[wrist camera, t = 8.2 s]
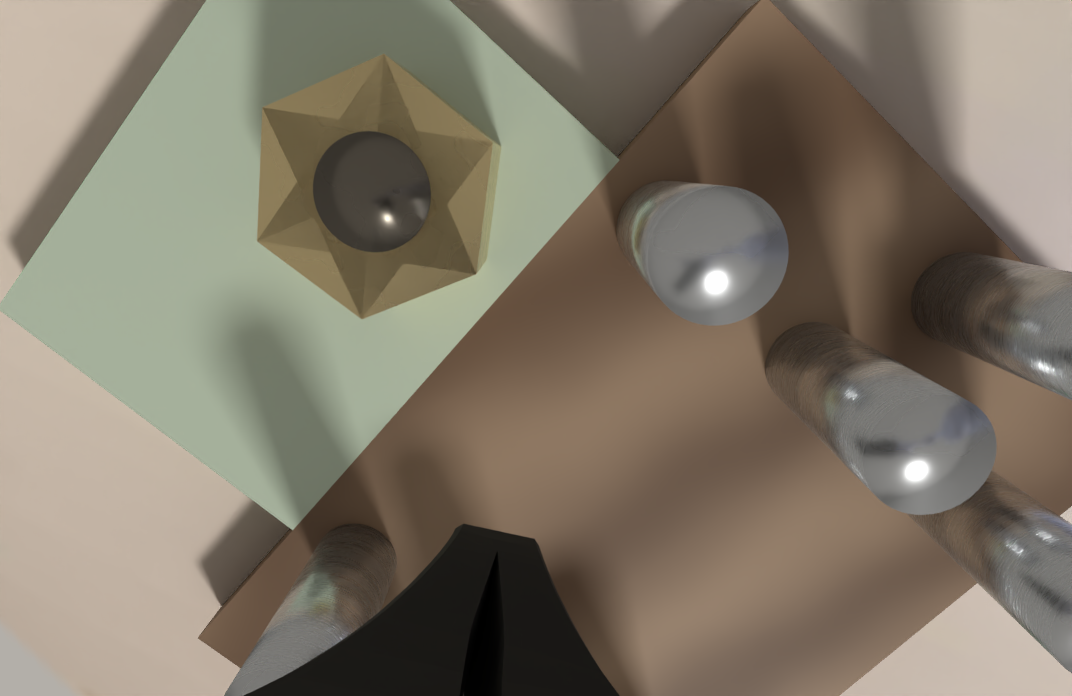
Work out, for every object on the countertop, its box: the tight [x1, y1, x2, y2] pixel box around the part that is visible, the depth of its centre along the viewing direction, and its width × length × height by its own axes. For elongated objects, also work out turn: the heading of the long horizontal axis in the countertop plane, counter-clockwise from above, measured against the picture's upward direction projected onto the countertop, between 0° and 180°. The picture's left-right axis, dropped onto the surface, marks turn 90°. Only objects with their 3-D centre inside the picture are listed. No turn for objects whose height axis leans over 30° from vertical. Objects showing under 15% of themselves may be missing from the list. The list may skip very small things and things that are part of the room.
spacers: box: [224, 181, 1072, 696], centre depth 17 cm, size 13×23×6 cm, turn 139°
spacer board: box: [198, 0, 1072, 696], centre depth 20 cm, size 16×24×2 cm, turn 139°
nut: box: [257, 54, 501, 319], centre depth 16 cm, size 6×5×3 cm
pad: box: [0, 0, 619, 530], centre depth 18 cm, size 10×14×2 cm
